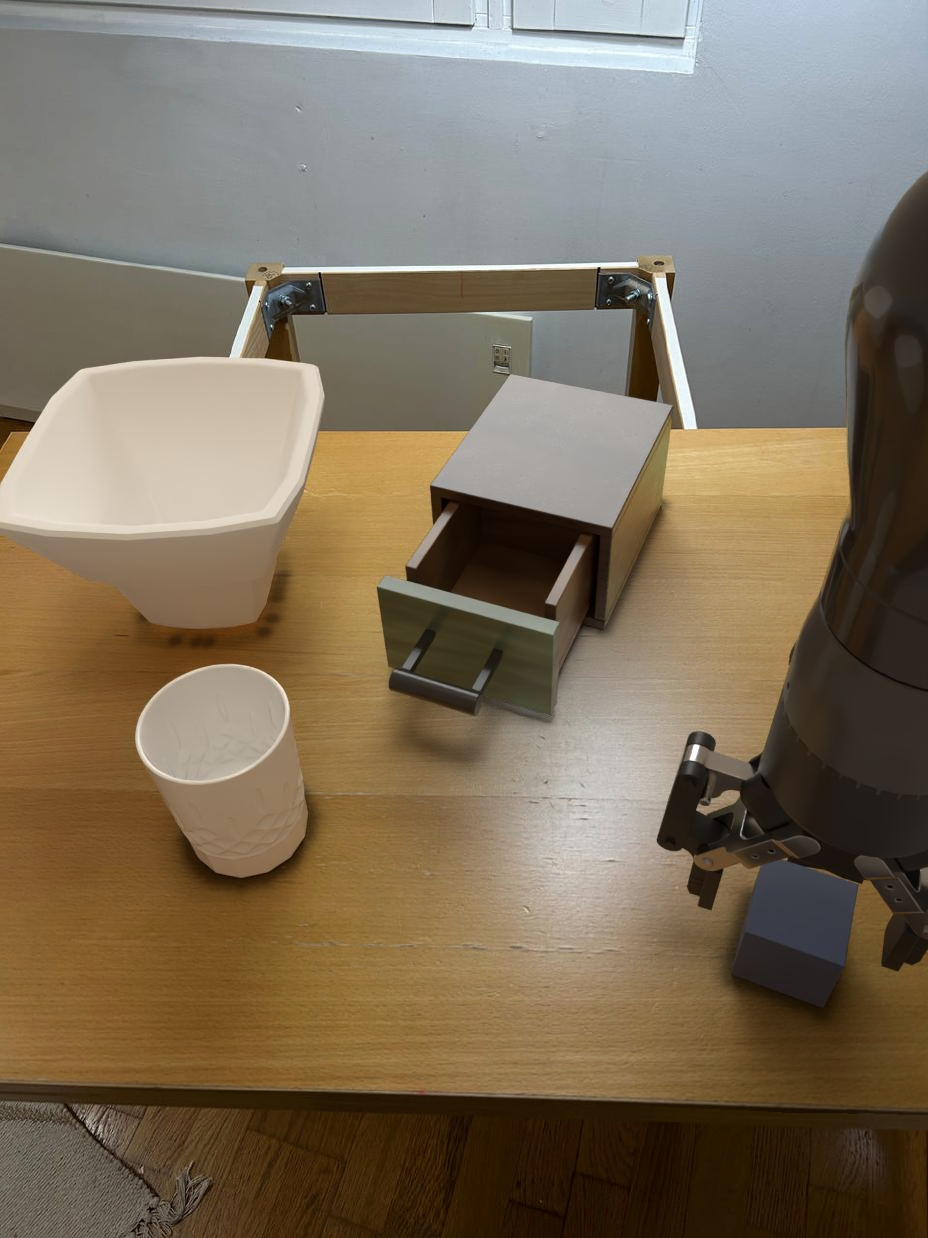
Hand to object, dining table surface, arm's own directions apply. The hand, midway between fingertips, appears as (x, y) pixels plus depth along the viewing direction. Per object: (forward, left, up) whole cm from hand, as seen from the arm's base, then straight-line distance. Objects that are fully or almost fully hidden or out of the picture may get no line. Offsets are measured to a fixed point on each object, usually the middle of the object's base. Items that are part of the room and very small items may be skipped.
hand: (797, 921), depth 47 cm
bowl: (+43, -13, -5) cm, 45 cm away
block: (0, -1, -5) cm, 5 cm away
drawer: (+22, -15, -4) cm, 27 cm away
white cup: (+30, +3, -5) cm, 30 cm away
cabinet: (+22, -27, -5) cm, 35 cm away
